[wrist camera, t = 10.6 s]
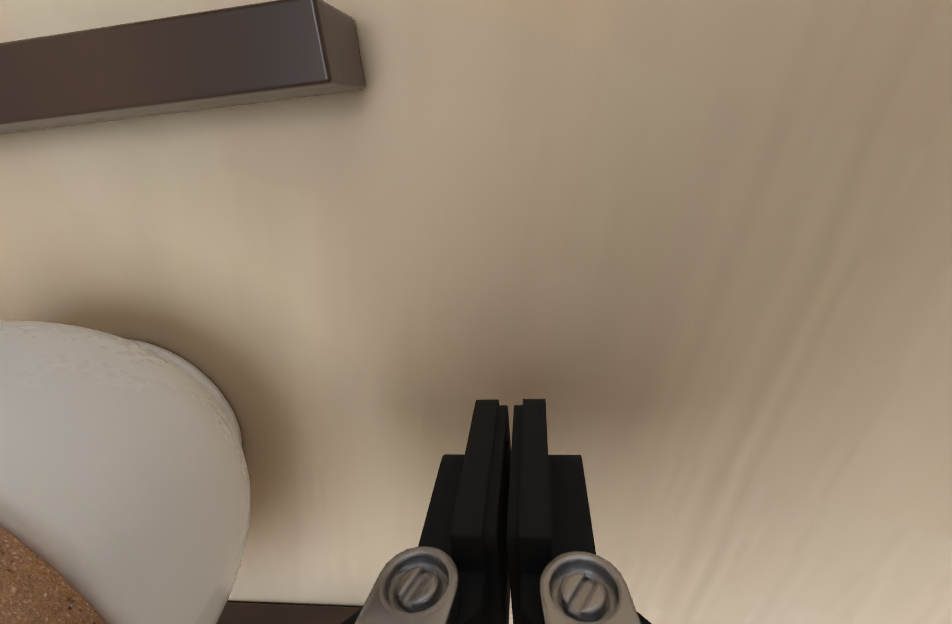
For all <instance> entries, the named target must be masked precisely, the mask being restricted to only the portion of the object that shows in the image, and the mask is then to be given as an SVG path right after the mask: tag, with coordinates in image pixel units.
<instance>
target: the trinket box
mask: <svg viewBox="0 0 952 624" xmlns="http://www.w3.org/2000/svg"><path fill="white" fill-rule="evenodd" d="M249 524H250V480H249V475H248V469H247V464H246V461H245V457H244V453H243V450H242V437H241V432H240V427H239V425H238V422H237V419H236V416H235V414H234V412H233V410H232V408H231V407H230V405H229V403H228V401H227V400H226V399H225V397H224V396H223V394H222V393H221V392H220V390H219V389H218V388H217V387H216V386H215V385H214V384H213V383H212V382H211V380H210V379H209V378H208V377H207V376H205V375H204V374H203V373H202V372H201V371H200V370H198V369H197V368H196V367H195V366H193V365H192V364H190V363H189V362H187V361H186V360H184V359H183V358H181V357H180V356H178V355H176V354H174V353H172V352H170V351H168V350H166V349H164V348H161V347H158V346H156V345H153V344H150V343H146V342H142V341H138V340H133V339H124V338H121V337H119V336H115V335H112V334H109V333H105V332H102V331H98V330H94V329H90V328H85V327H81V326H77V325H68V324H59V323H50V322H40V321H29V320H7V321H0V624H216V623H217V621H218V619H219V617H220V615H221V613H222V611H223V608H224V606H225V604H226V602H227V600H228V597H229V595H230V592H231V589H232V587H233V584H234V581H235V579H236V576H237V573H238V570H239V568H240V565H241V561H242V557H243V552H244V548H245V544H246V539H247V534H248V529H249Z"/></svg>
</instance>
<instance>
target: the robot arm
mask: <svg viewBox="0 0 952 624" xmlns="http://www.w3.org/2000/svg"><path fill="white" fill-rule="evenodd" d="M510 589H511V601H512V613H513V624H651V623H650V622H649V621H648V620H646V619H645V618H644V617H643V616H642V615H640V614H639V613H638V612H637V611H636V609H635V606H634V603H633V600H632V598H631V595H630V592H629V590H628V587H627V584H626V582H625V581H624V579H623V577H622V575H621V573H620V572H619V571H618V570H617V569H616V568H615V567H614V566H613V565H612V564H611V563H610V562H609V561H607V560H605V559H604V558H602V557H600V556H598V555H596V552H595V545H594V538H593V531H592V524H591V517H590V510H589V503H588V497H587V490H586V483H585V476H584V469H583V462H582V457H581V455H548V444H547V422H546V401H545V399H523V405H514V416H513V432H512V448H511V443H510V430H509V416H508V406H507V405H500V404H499V400H498V399H496V400H476V402H475V407H474V412H473V417H472V422H471V427H470V432H469V437H468V442H467V447H466V452H465V455H451V454H444V456H443V457H442V460H441V463H440V467H439V470H438V474H437V478H436V482H435V486H434V489H433V493H432V497H431V501H430V504H429V508H428V512H427V516H426V519H425V523H424V527H423V531H422V534H421V538H420V542H419V546H418V547H415V548H410V549H407V550H405V551H403V552H401V553H399V554H397V555H396V556H395V557H393V558H392V559H391V560H390V561H389V562H388V563H387V564H386V565H385V567H384V568H383V570H382V571H381V572H380V574H379V576H378V578H377V580H376V582H375V584H374V586H373V588H372V590H371V592H370V594H369V596H368V598H367V600H366V602H365V604H364V606H363V608H362V609H360V610H359V611H357V612H356V613H355V614H353V615H352V616H350V617H349V618H348V619H346V620H345V621H343V622H342V623H341V624H509V607H510Z"/></svg>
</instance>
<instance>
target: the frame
mask: <svg viewBox="0 0 952 624" xmlns="http://www.w3.org/2000/svg"><path fill="white" fill-rule="evenodd" d="M364 87H365V83H364V77H363V71H362V65H361V59H360V53H359V48H358V42H357V36H356V30H355V24H354V20H353V18H352V17H350V16H349V15H347V14H345V13H343V12H342V11H340V10H338V9H336V8H335V7H333V6H331V5H329V4H328V3H326V2H324V1H323V0H276V1H269V2H263V3H256V4H250V5H244V6H237V7H231V8H224V9H218V10H211V11H205V12H198V13H192V14H186V15H179V16H173V17H166V18H160V19H153V20H147V21H140V22H134V23H127V24H121V25H115V26H108V27H102V28H95V29H89V30H82V31H76V32H69V33H63V34H57V35H50V36H44V37H37V38H31V39H24V40H18V41H11V42H5V43H0V134H6V133H14V132H22V131H30V130H38V129H47V128H55V127H63V126H71V125H79V124H87V123H95V122H104V121H112V120H120V119H128V118H136V117H144V116H152V115H161V114H169V113H177V112H185V111H193V110H201V109H209V108H217V107H226V106H234V105H242V104H250V103H258V102H266V101H274V100H283V99H291V98H299V97H307V96H315V95H323V94H331V93H340V92H348V91H356V90H362V89H364ZM362 608H363V607H340V606H315V605H289V604H264V603H238V602H226V604H225V606H224V608H223V611H222V613H221V615H220V617H219V619H218V621H217V623H216V624H341V623H342V622H343V621H345V620H346V619H348V618H349V617H350V616H352V615H353V614H355V613H356V612H357V611H359V610H360V609H362Z"/></svg>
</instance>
